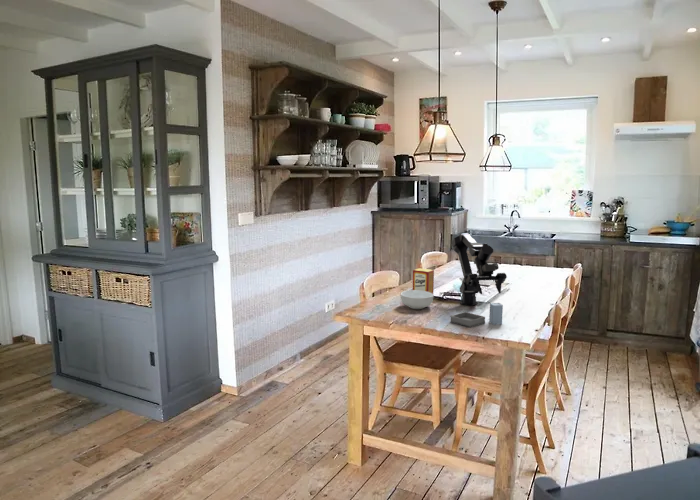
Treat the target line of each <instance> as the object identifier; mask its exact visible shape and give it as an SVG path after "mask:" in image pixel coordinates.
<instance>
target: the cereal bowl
mask: <svg viewBox="0 0 700 500" xmlns="http://www.w3.org/2000/svg"><path fill="white" fill-rule="evenodd" d="M400 300H401V303H402V304H403V305H405V306H407V307H409V309H413V310H421V309H424V308H426V307H429V306H431V304H432V303H433V300H434V293H433V294H432V293H430V292H427V291H420V290H413V289H412V290H410V289H409V290H403V291H402V292H401V293H400Z"/></svg>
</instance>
